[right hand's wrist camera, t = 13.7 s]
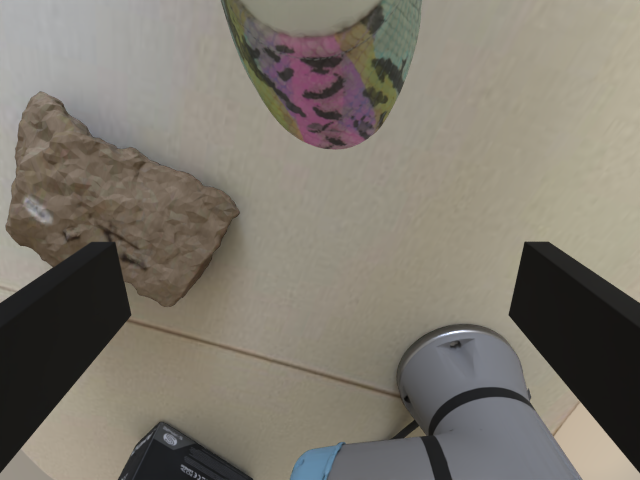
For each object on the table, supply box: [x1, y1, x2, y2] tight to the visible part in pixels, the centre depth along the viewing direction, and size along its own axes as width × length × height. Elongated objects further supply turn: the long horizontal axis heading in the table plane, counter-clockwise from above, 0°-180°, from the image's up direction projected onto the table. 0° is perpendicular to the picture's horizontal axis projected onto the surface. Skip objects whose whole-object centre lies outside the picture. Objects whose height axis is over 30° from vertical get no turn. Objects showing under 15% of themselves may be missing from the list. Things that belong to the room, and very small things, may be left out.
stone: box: [6, 92, 240, 307], centre depth 38 cm, size 21×15×6 cm
